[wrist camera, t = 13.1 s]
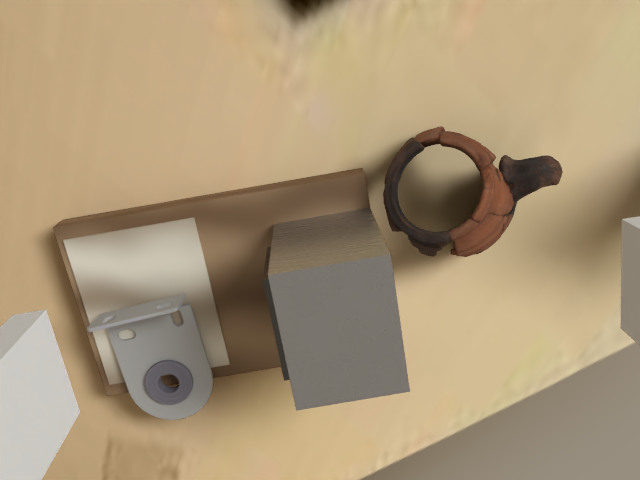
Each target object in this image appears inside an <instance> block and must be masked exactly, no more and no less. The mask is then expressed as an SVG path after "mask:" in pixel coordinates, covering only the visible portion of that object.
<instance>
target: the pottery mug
mask: <svg viewBox="0 0 640 480" xmlns="http://www.w3.org/2000/svg"><path fill="white" fill-rule="evenodd" d="M435 144H441V145H442V146H446V147H452V148H455V149H458V150H460V151H462V152H464V153H465V154H466V155H468V156H469V157H470V158H471V159H472V160H473V162H474V163H475V165H476V167H477V168H478V170H479V171H480V176H481V181H482V190H481V196H480V200H479V202H478V205H477V207H476V209H475V210H474V212H473V213H472V214H471V216H470V217H469V218H468V219H467V220H466V221H464V222H463V223H462V224H460V225H459V226H457V227H455V228H452V229H450V230H448V231H443V232H430V231H426V230H423V229H420V228H418V227H416V226H415V225H413V224H412V223H411V222H409V221H408V220H407V218H406V217H405V216H404V214H403V212H402V210H401V208H400V205H399V201H398V194H397V190H398V183H399V180H400V177H401V174H402V172H403V170H404V168H405V167H406V165H407V164H408V163H409V162H410V161H411V160H412V159H413V158H414V157H415V156H416V155H417V154H419V153H420V152H422V151H423V150H424V148H425V147H427V146H431V145H435ZM495 158H496V156H495V155H494V154H493V153H492V152H491V151H489V150H488V149H487V148H486V147H484V146H483V145H481V144H480V143H479V142H477V141H475V140H473V139H471V138H469V137H466V136H464V135H462V134H460V133H455V132H449V131H445V130H444V127H437V128H434V129H430V130H427V131H424V132H422V133H420V134H418V135H417V136H416V137H415V138H411V139H409V140H408V141H407V142H406V143H405V145H404V146H403V147H402V148H401V149H400V151H399V152H398V153H397V155H396V156H395V158H394V159H393V161H392V162H391V164H390V166H389V169H388V172H387V174H386V177H385V190H384V193H383V197H384V204H385V209H386V212H387V216H388V220H389V224H390V227H391V229H392V231H403V232H404V233H406V234H407V235H408V238H409V240H410V242H411V244H412V245H413V246H415V247H416V248H418V250H419V252H420V253H421V254H424V255H428V256H435V255H436V254H437V252H438V251H440V250H441V249H442V248H443V247H444V246H445V245H447V244H448V243H450V242H451V241H453V244H454V248H453V249H451V254H452V255H457V256H463V257H467V256H470V255H473V254H478V253H481V252H483V251H484V250H486V249H488V248H489V247H490V246H492V245H493V244H494V243H495V242H496V241H497V240H498V239H499V238H500V237H501V235H502V234H503V232H504V231H505V230H506V228H507V227H508V225H509V223H510V221H511V219H512V217H513V215H514V211H515V207H516V204H517V201H518V200H519V199H521V198H523V197H524V196H526V195H528V194H530V193H532V192H534V191H536V190H538V189H540V188H542V187H545V186H550V185H557V184H558V183H559V181H560V178H561V176H562V168H561V165H560V163H559V162H558V161H557V160H555V159H554V158H553V157H551V156H540V157H535V158H528V159H523V160H513V159H511V158H510V157H508V156H507V155H504V156H503V157H502V158H501V160H500V163H499V169H497V168H496V167H495V166H494V165H493V164H492V163H493V161H494V160H495ZM499 170H500V171H499Z"/></svg>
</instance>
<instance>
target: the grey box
mask: <svg viewBox="0 0 640 480" xmlns="http://www.w3.org/2000/svg"><path fill="white" fill-rule="evenodd" d="M263 284H264V288H265V293H266V298H267V302H268V307H269V312H270V316H271V321H272V326H273V330H274V335H275V340H276V344H277V349H278V354H279V358H280V363H281V368H282V372H283V377H284V380H290V383H291V387H292V392H293V397H294V402H295V406H296V410H302V409H308V408H314V407H320V406H326V405H332V404H338V403H344V402H350V401H356V400H362V399H368V398H374V397H380V396H386V395H392V394H398V393H404V392H410V389H409V382H408V375H407V368H406V361H405V353H404V346H403V339H402V332H401V325H400V317H399V310H398V303H397V296H396V289H395V281H394V274H393V267H392V260H391V254H390V251H389V249H388V247H387V245H386V242H385V240H384V238H383V236H382V233H381V231H380V229H379V227H378V224H377V222H376V220H375V218H374V215H373V213H372V211H371V209H370V207H369V208H364V209H358V210H352V211H346V212H340V213H335V214H329V215H323V216H317V217H311V218H306V219H300V220H294V221H288V222H282V223H277V224H274V228H273V236H272V245H271V247H267V252H266V260H265V267H264V274H263Z"/></svg>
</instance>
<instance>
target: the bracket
mask: <svg viewBox="0 0 640 480" xmlns="http://www.w3.org/2000/svg"><path fill="white" fill-rule="evenodd" d="M185 298H186V293H185V294H181V295H177V296H172V297H168V298H164V299H160V300H156V301H152V302H148V303H143V304H139V305H135V306H131V307H127V308H123V309H119V310H114V311H110V312H106V313H102V314H100V315H99V316H98V317H97V318H96V319H95V320H94V321H93V322H92V323H91V324H90V325H89V326H88V327H87V330H88V332H92V331H96V330H101V329H105V328H106V329H107V332H108V334H109V337H110V340H111V343H112V346H113V348H114V351H115V354H116V357H117V360H118V363H119V365H120V368H121V371H122V374H123V377H124V379H125V382H126V385H127V388H128V391H129V393H130V395H131V397H132V399H133V400H134V402H135V403H136V404H137V405H138V406H139V407H140V408H141V409H142V410H143V411H145V412H146V413H148V414H150V415H152V416H154V417H157V418H161V419H166V420H177V419H183V418H186V417H189V416H191V415H193V414H195V413H196V412H198V411H199V410H200V409H201V408H202V407H203V406H204V405H205V404H206V402H207V401H208V399H209V397H210V394H211V392H212V387H213V375H212V371H211V367H210V364H209V361H208V358H207V355H206V351H205V348H204V345H203V342H202V339H201V336H200V332H199V329H198V326H197V323H196V320H195V317H194V313H193V310H192V307H191V304H187V305H183V306H182V303H183V301H184V300H185ZM177 310H179V311H180V312H181V315H182V318H183V321H184V322H183V324H182V325H180V326H178V325H176V324H175V323H174V322H173V319H172V316H171V312H175V311H177ZM111 319H112V321H110V322H107V321H109V320H111ZM106 322H107V323H106ZM127 329H132V330H134V331H135V333H136V336H135V337H134V338H130V339H126V340H123V339H121V338H120V337H119V332H120V331H123V330H127ZM164 374H172V375H174V376H176V377H177V379H178V380H179V385H178V386H176V387H168V386H166V385H164V384H163V382H162V381H161V376H162V375H164Z"/></svg>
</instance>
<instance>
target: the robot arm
mask: <svg viewBox="0 0 640 480" xmlns="http://www.w3.org/2000/svg"><path fill="white" fill-rule="evenodd" d="M621 329H622V330H623V331H624V332H625V333H626V334H628V335H629V336H630V337H631V338H632V339H633V340H634V341H635V342H637V343H638V344H639V345H640V216H638V217H632V218H626V219H622V251H621ZM79 413H80V411H79V408H78V405H77V402H76V399H75V396H74V393H73V390H72V387H71V384H70V381H69V377H68V374H67V371H66V368H65V365H64V362H63V359H62V356H61V353H60V350H59V347H58V344H57V341H56V338H55V335H54V332H53V329H52V326H51V323H50V320H49V317H48V314H47V311H46V310H41V311H34V312H28V313H22V314H15V315H12V316H11V317H10V318H9V319H8V320H7V321H6V322H5V323H4V324H3V325H2V326H1V327H0V480H42V478H43V476H44V475H45V473H46V471H47V469H48V468H49V466H50V464H51V462H52V461H53V459H54V457H55V455H56V454H57V452H58V450H59V448H60V446H61V445H62V443H63V441H64V439H65V438H66V436H67V434H68V432H69V431H70V429H71V427H72V425H73V424H74V422H75V420H76V418H77V417H78V415H79Z"/></svg>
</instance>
